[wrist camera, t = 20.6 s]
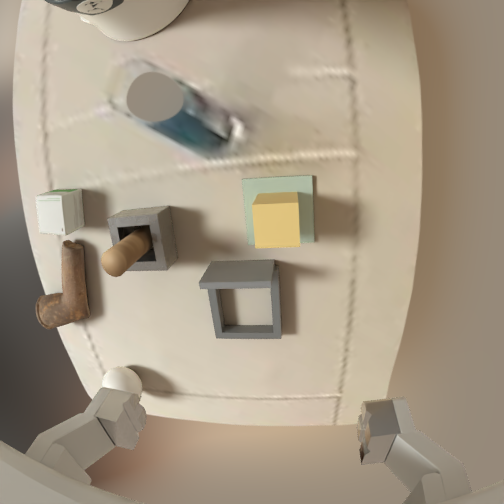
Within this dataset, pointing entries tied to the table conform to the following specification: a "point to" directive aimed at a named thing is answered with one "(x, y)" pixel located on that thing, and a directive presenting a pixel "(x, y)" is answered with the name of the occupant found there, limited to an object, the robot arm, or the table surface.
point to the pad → (282, 185)
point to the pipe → (66, 291)
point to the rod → (127, 251)
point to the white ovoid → (123, 380)
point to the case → (239, 278)
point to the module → (276, 220)
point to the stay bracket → (160, 234)
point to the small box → (60, 211)
